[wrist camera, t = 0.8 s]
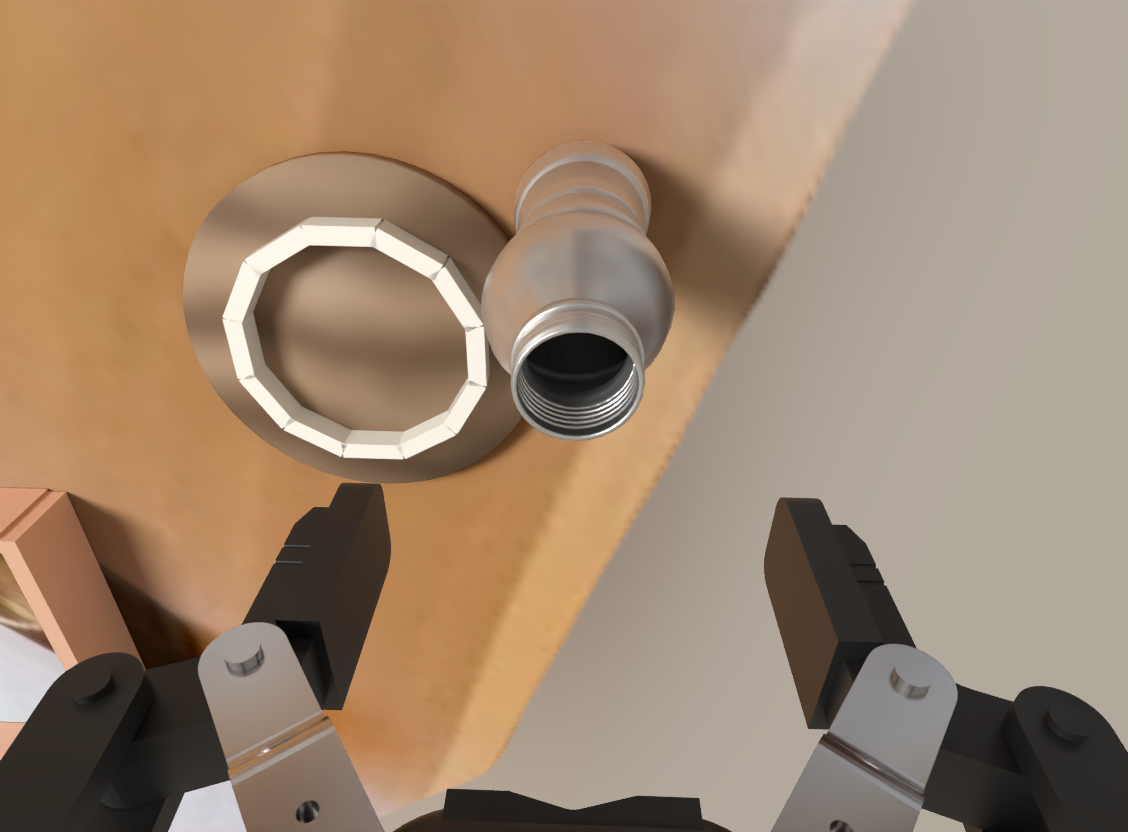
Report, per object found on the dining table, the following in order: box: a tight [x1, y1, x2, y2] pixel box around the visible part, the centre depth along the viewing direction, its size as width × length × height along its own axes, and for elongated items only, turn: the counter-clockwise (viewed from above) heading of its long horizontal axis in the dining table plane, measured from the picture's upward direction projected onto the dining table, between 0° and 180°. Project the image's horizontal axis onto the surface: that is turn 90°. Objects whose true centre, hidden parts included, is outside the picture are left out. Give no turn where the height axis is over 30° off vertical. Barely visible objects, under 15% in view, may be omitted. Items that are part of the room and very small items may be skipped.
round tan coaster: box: [183, 151, 522, 483], centre depth 40 cm, size 20×20×1 cm
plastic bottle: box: [481, 140, 675, 441], centre depth 28 cm, size 6×7×20 cm
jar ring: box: [222, 217, 490, 459], centre depth 39 cm, size 14×14×2 cm
